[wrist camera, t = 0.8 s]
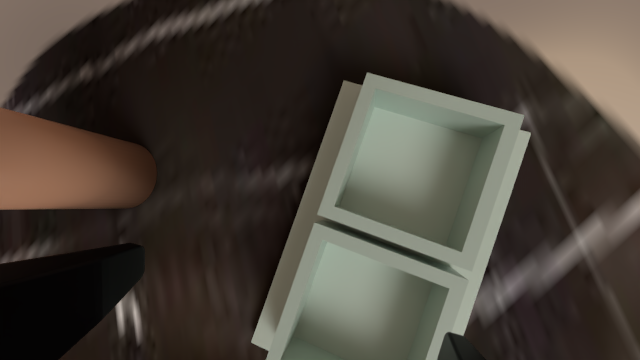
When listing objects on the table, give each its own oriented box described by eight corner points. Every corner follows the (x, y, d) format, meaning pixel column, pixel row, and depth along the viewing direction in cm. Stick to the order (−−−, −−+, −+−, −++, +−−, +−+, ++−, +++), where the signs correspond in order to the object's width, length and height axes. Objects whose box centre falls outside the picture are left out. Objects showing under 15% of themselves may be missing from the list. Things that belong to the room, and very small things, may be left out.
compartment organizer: (429, 416, 21) (446, 474, 16) (256, 336, 23) (228, 368, 18) (523, 136, 21) (564, 118, 17) (344, 85, 23) (339, 57, 19)
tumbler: (132, 222, 25) (-111, 239, 12) (86, 184, 26) (-183, 163, 13) (169, 166, 25) (-37, 124, 12) (122, 130, 26) (-114, 57, 13)
